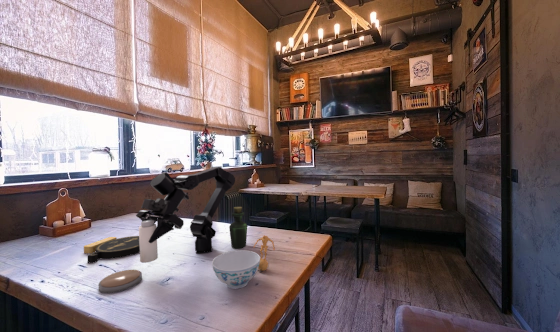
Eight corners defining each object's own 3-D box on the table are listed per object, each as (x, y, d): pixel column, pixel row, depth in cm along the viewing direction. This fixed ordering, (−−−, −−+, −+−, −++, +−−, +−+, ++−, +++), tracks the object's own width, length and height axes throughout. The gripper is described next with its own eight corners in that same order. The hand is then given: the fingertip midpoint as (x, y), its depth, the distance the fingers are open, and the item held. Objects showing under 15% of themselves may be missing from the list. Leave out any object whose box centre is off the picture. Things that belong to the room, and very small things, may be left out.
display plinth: (146, 272, 82) (146, 267, 82) (134, 289, 71) (134, 283, 71) (109, 277, 79) (108, 271, 79) (90, 296, 68) (90, 289, 68)
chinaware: (220, 272, 81) (220, 250, 81) (263, 271, 81) (262, 250, 80) (205, 297, 66) (205, 270, 66) (257, 297, 66) (256, 270, 65)
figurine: (249, 271, 81) (248, 237, 81) (257, 263, 87) (256, 232, 87) (271, 274, 78) (270, 239, 78) (277, 266, 84) (277, 234, 84)
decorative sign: (123, 231, 122) (165, 234, 117) (124, 238, 122) (165, 240, 117) (62, 253, 93) (113, 257, 88) (62, 261, 94) (113, 266, 89)
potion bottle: (250, 247, 104) (250, 207, 104) (234, 251, 99) (233, 210, 99) (243, 242, 111) (242, 205, 110) (227, 246, 106) (226, 207, 106)
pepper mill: (161, 256, 81) (159, 219, 80) (151, 262, 76) (149, 223, 75) (147, 255, 81) (145, 219, 81) (136, 262, 76) (134, 223, 76)
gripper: (140, 188, 85) (108, 226, 76) (175, 190, 77) (144, 233, 68) (160, 205, 93) (133, 241, 83) (194, 209, 84) (169, 249, 75)
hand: (144, 241), depth 77 cm, fingers closed on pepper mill, 5 cm apart
